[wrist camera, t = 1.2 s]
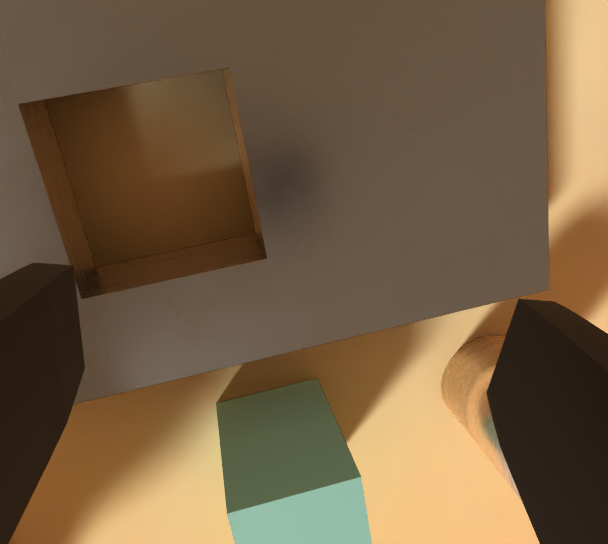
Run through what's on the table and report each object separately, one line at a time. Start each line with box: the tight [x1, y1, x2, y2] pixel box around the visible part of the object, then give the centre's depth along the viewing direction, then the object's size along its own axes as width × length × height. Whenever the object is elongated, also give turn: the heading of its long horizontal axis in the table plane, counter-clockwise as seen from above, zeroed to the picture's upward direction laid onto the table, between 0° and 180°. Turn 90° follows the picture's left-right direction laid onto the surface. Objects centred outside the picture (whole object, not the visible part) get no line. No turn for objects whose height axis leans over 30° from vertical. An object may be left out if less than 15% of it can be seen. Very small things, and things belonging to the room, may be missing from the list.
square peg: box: [216, 378, 372, 544], centre depth 20 cm, size 4×4×6 cm
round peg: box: [441, 335, 521, 499], centre depth 21 cm, size 4×4×6 cm
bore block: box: [0, 0, 549, 404], centre depth 18 cm, size 18×12×3 cm, turn 99°
